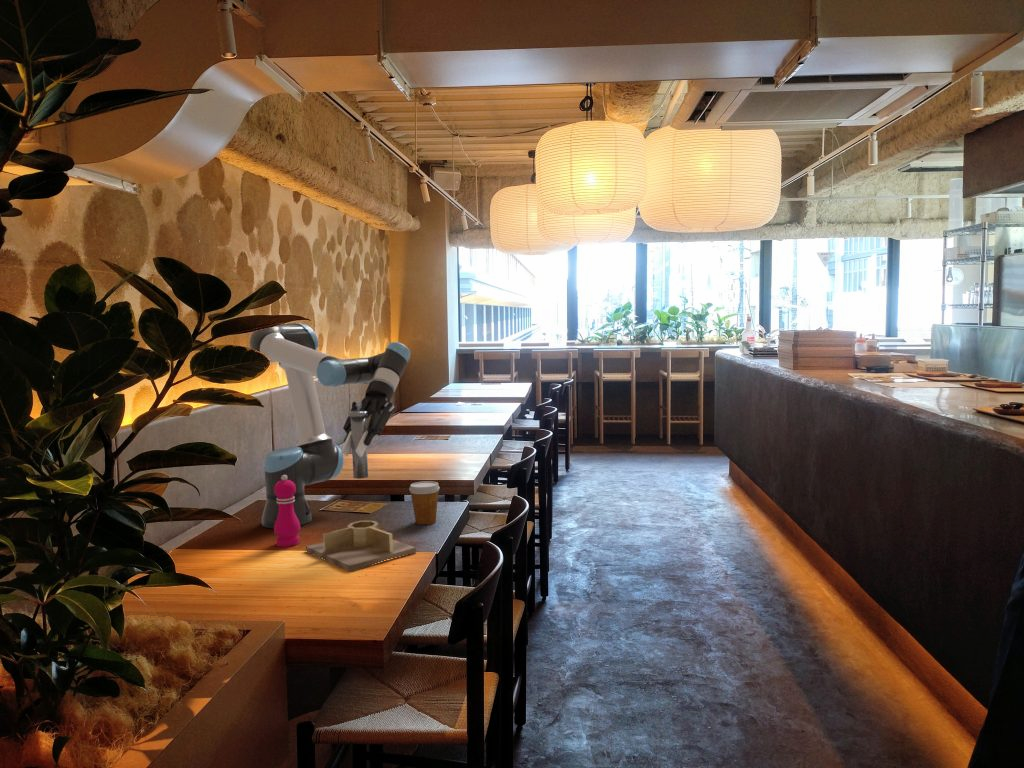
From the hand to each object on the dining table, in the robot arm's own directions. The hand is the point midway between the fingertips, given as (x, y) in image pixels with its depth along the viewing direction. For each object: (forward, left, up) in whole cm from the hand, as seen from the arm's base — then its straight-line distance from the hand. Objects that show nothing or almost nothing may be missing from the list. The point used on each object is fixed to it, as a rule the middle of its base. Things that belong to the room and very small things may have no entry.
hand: (351, 453), depth 193 cm
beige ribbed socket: (+3, -1, -26) cm, 26 cm away
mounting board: (+1, 0, -27) cm, 27 cm away
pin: (-2, +3, -7) cm, 8 cm away
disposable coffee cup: (-10, +31, -27) cm, 42 cm away
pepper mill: (-22, -10, -27) cm, 36 cm away
